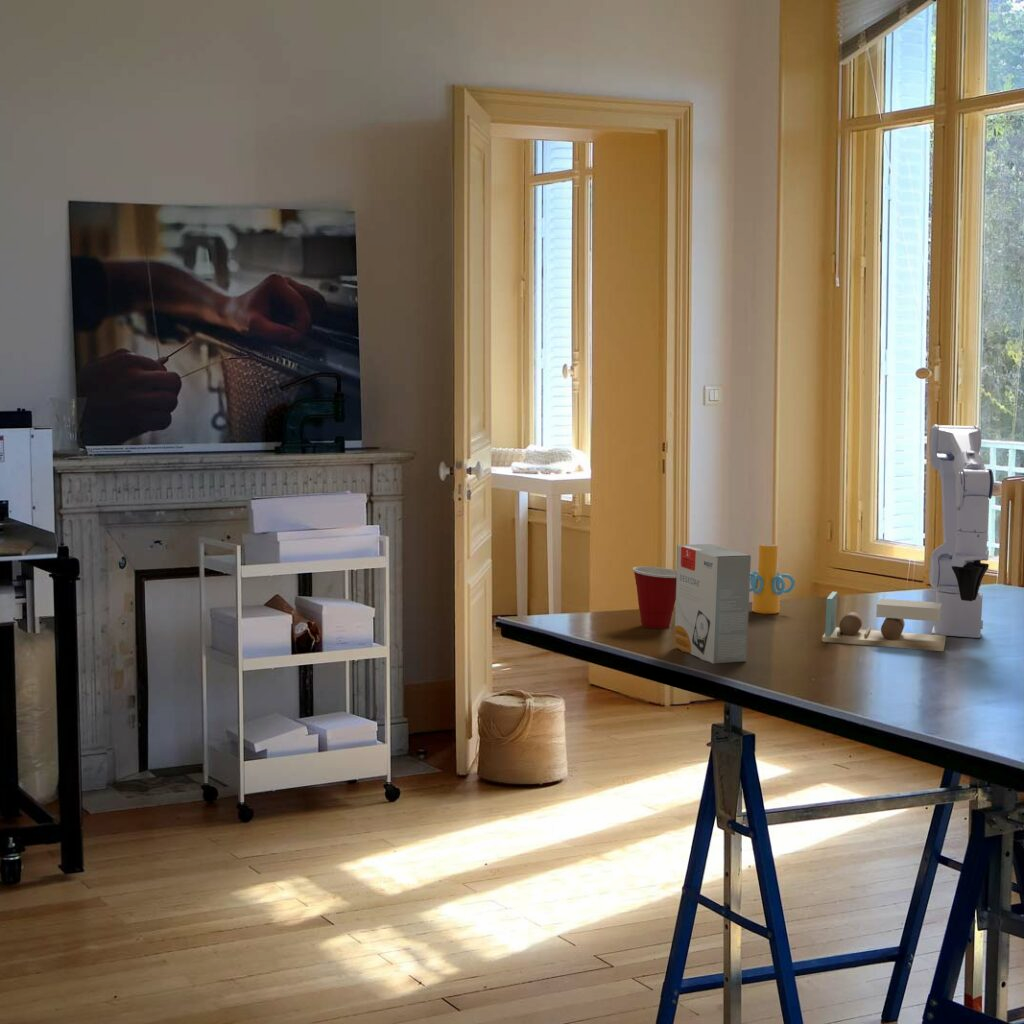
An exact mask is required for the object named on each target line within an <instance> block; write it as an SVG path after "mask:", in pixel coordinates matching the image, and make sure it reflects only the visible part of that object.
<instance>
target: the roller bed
mask: <svg viewBox="0 0 1024 1024" xmlns="http://www.w3.org/2000/svg"><path fill="white" fill-rule="evenodd" d="M825 607H826V608H825V628H824V629H825V631H824V634H823V635H822V638H821V641H822V643H823V642H824V643H835V644H848V645H858V646H859V645H860V646H861V645H862V646H872V647H873V646H875V647H885V648H886V647H887V648H899V649H910V650H911V649H912V650H913V649H914V650H920V651H921V650H924V651H935V652H936V651H937V652H944V650H945V645H946V639H947V636H946V635H933V634H926V633H915V632H912V633H911V632H904V628H905V625H906V624H905V619H898V618H884V619H883V623H882V624H881V627H880V630H875V629H872V628H871V627H867V629H865V628H864V629H863V628H860V630H859V631H858V633H857V634H855V635H853V636H847V635H845V634H843V633H842V632H841V630H840V627H839V626H837V609H838V608H837V607H838V591H831V593H830V594H829V595H828V596H827V598H826V605H825Z"/></svg>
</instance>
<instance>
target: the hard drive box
mask: <svg viewBox="0 0 1024 1024" xmlns="http://www.w3.org/2000/svg"><path fill="white" fill-rule="evenodd" d="M676 546H677V547H676V548H677V550H676V555H677V556H676V571H677V575H676V600H675V605H674V610H675V611H674V633H673V634H674V636H673V638H674V640H673V641H674V642H673V646H674V648H676V649H678V650H680V651H681V652H683V653H687V654H689V655H692V656H695V657H697V658H699V659H700V660H702V661H706V662H708V663H710V664H725V663H741V662H742V663H743V662H747V658H748V656H747V655H748V639H749V638H748V635H749V634H748V632H749V610H750V592H749V589H750V588H751V583H750V573H751V565H752V564H751V559H752V556H751V555H750V554H747V553H743V552H740V551H738V550H737V551H736V550H733V549H729V548H726V547H721V546H718V545H716V544H710V543H707V544H706V543H703V544H677V545H676Z"/></svg>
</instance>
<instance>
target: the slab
mask: <svg viewBox="0 0 1024 1024" xmlns="http://www.w3.org/2000/svg"><path fill="white" fill-rule="evenodd" d="M875 613H876V614H875V615H876V616H875V617H876V618H884V619H885V618H898V619H903V620H910V621H911V620H914V621H927V622H935V621H938V622H940V619H941V615H942V603H936V601H919V600H918V601H917V600H905V599H891V598H890V599H889V598H879V600H878V602H877V603H876V612H875Z"/></svg>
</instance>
